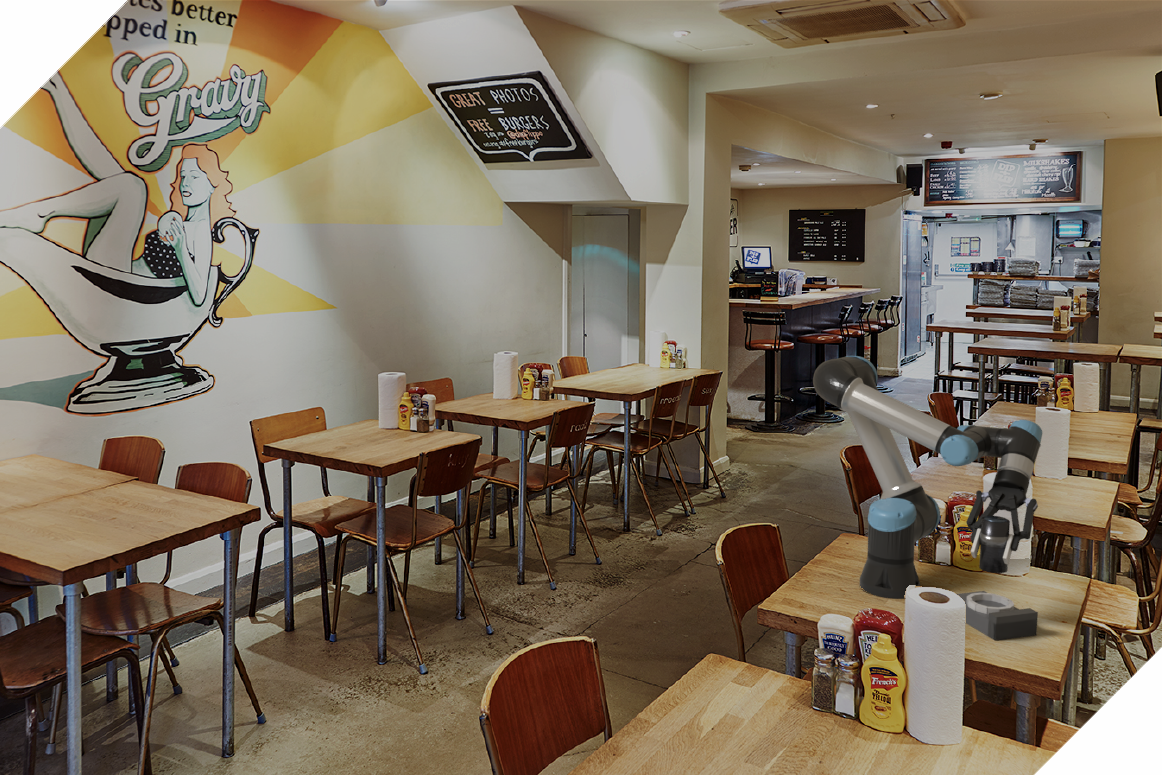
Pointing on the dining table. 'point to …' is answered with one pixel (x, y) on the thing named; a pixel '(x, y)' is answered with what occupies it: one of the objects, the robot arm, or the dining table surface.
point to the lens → (993, 543)
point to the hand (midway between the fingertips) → (989, 557)
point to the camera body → (998, 616)
